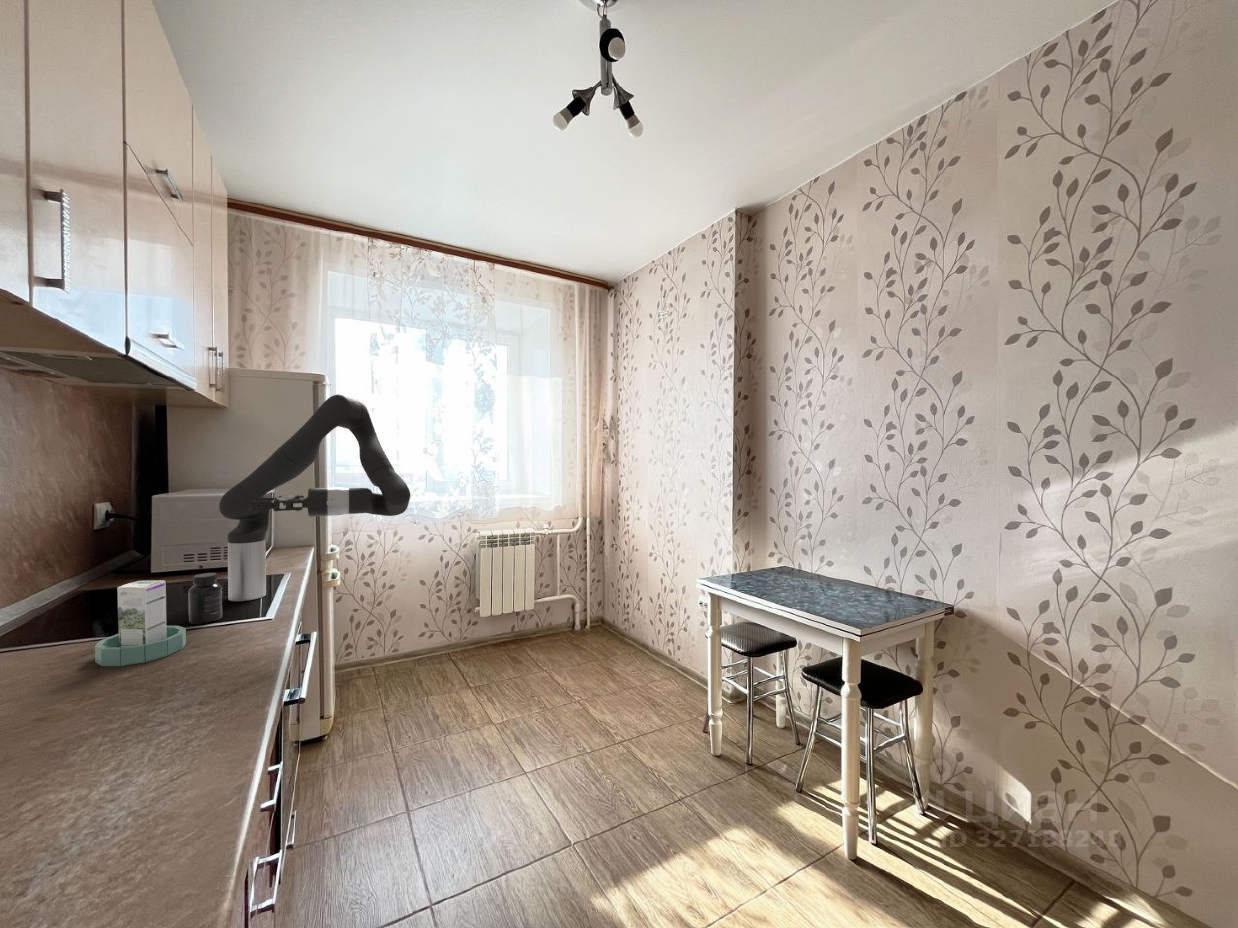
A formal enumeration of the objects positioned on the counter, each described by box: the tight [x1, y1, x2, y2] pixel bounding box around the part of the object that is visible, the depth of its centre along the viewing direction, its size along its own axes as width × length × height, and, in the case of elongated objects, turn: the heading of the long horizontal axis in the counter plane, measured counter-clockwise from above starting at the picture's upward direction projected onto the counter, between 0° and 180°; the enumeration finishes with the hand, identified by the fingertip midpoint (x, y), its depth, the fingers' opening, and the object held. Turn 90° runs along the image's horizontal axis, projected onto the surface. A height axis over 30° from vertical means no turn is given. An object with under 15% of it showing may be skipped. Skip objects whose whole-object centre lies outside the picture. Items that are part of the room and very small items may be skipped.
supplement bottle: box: [188, 572, 223, 625], centre depth 131 cm, size 7×7×12 cm
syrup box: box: [116, 580, 167, 647], centre depth 110 cm, size 6×6×14 cm
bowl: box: [94, 625, 187, 667], centre depth 110 cm, size 14×14×4 cm
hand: (254, 504), depth 125 cm, fingers open, 8 cm apart
